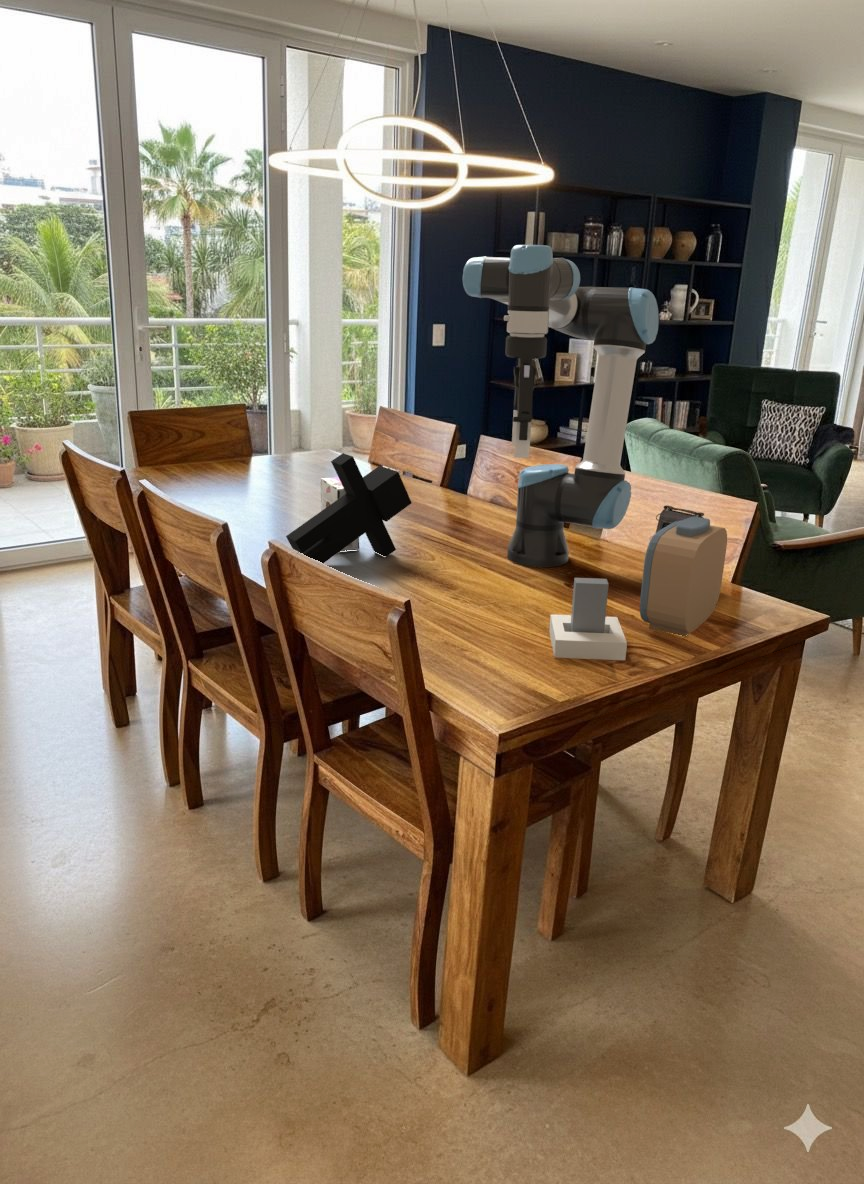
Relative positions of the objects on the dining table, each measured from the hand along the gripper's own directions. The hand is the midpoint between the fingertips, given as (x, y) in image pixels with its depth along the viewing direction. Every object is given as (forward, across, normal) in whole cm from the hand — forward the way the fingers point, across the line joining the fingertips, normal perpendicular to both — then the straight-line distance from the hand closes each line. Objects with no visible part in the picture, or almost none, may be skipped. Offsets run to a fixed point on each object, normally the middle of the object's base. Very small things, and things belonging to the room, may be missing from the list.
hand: (520, 450), depth 171 cm
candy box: (+35, -47, -42) cm, 72 cm away
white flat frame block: (+35, +12, +14) cm, 39 cm away
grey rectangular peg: (+35, +12, +14) cm, 39 cm away
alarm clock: (+35, -1, +34) cm, 49 cm away
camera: (+35, -22, +38) cm, 56 cm away
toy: (+35, -34, -38) cm, 62 cm away
